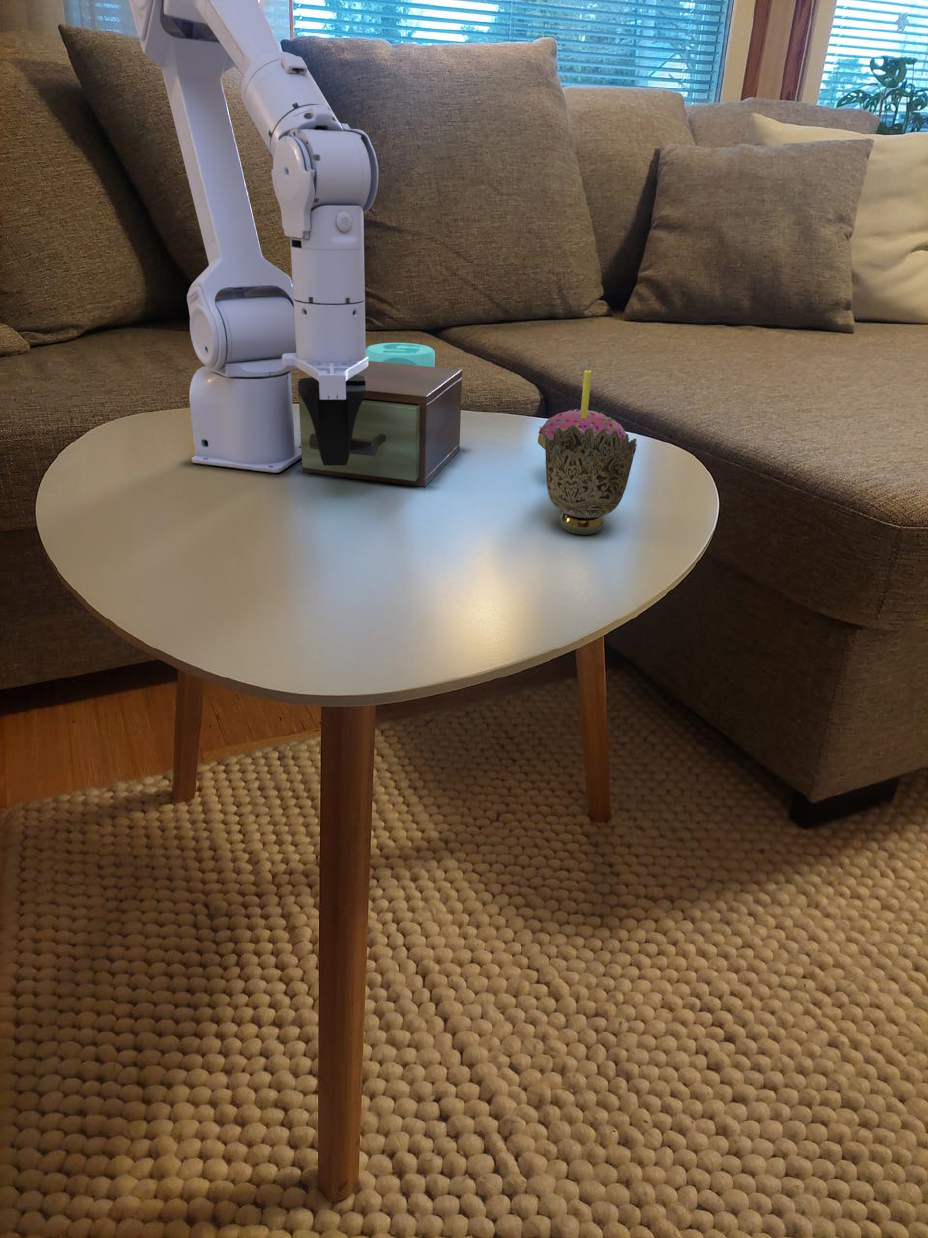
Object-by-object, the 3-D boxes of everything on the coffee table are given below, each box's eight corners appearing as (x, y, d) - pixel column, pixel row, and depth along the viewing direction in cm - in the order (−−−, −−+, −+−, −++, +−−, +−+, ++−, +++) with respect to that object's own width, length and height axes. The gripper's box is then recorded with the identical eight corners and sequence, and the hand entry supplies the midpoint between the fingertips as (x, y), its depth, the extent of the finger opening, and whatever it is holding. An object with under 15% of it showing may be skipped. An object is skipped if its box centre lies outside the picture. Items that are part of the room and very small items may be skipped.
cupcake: (619, 502, 81) (636, 370, 75) (529, 493, 82) (538, 363, 77) (623, 474, 88) (638, 352, 83) (540, 466, 90) (549, 346, 84)
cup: (602, 553, 70) (614, 456, 66) (522, 532, 73) (529, 439, 70) (638, 526, 76) (650, 435, 72) (561, 507, 79) (570, 420, 75)
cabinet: (425, 487, 83) (426, 396, 79) (302, 472, 85) (297, 383, 82) (459, 450, 94) (462, 369, 90) (349, 438, 96) (347, 358, 92)
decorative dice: (363, 424, 101) (362, 354, 98) (369, 407, 108) (368, 341, 105) (432, 427, 102) (433, 356, 98) (434, 409, 109) (435, 343, 105)
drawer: (401, 495, 78) (401, 420, 75) (283, 480, 80) (278, 407, 77) (448, 447, 91) (450, 382, 88) (346, 436, 94) (344, 372, 91)
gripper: (282, 287, 76) (291, 440, 82) (274, 312, 63) (285, 491, 70) (363, 288, 77) (366, 439, 83) (371, 314, 64) (374, 489, 71)
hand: (335, 463), depth 77 cm, fingers closed
